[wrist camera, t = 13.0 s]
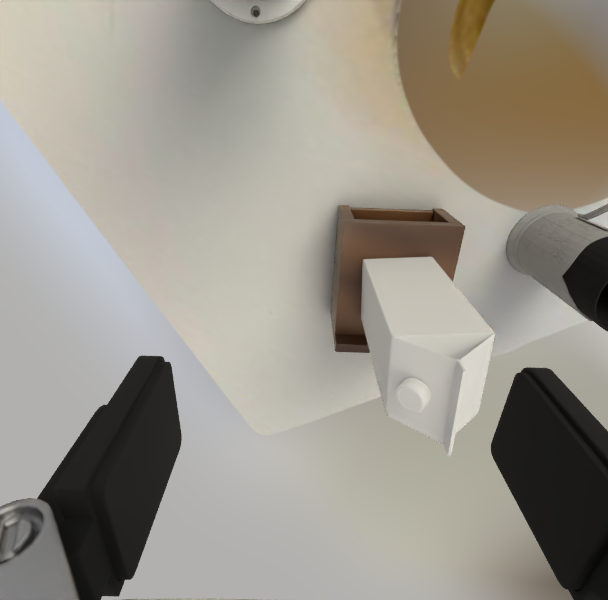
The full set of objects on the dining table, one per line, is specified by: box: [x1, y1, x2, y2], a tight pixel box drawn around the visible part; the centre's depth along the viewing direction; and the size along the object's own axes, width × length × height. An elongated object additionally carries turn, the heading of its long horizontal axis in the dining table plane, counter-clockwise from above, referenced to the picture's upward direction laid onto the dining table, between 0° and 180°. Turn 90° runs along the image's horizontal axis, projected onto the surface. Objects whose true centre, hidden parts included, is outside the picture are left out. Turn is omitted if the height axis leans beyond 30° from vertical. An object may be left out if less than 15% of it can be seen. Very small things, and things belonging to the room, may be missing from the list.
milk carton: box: [361, 257, 495, 456], centre depth 33 cm, size 7×7×19 cm
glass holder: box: [506, 204, 608, 331], centre depth 39 cm, size 9×14×15 cm, turn 151°
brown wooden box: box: [331, 205, 465, 353], centre depth 44 cm, size 14×12×9 cm
